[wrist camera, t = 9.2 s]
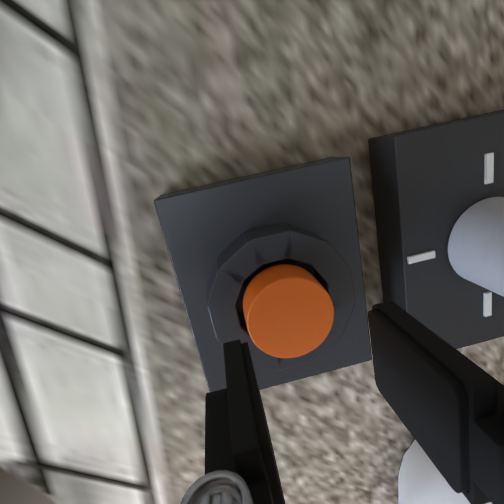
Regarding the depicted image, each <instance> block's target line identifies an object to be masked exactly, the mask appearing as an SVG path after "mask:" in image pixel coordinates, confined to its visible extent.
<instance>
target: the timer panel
mask: <svg viewBox="0 0 504 504" xmlns="http://www.w3.org/2000/svg"><path fill="white" fill-rule="evenodd" d="M369 148H370V159H371V170H372V181H373V191H374V202H375V213H376V223H377V234H378V245H379V255H380V266H381V277H382V287H383V298H384V302H387V301H393V302H394V303H396V304H397V305H398V306H400V307H401V308H402V309H404V310H405V311H406V312H407V313H409V314H410V315H411V316H413V317H414V318H415V319H417V320H418V321H419V322H421V323H422V324H423V325H425V326H426V327H427V328H428V329H430V330H431V331H432V332H434V333H435V334H436V335H438V336H439V337H440V338H442V339H443V340H444V341H446V342H447V343H448V344H450V345H451V346H452V347H454V348H455V349H458V348H462V347H465V346H469V345H473V344H476V343H480V342H484V341H488V340H491V339H495V338H499V337H502V336H504V297H503V296H501V295H499V294H497V293H494V292H492V291H490V290H488V289H486V288H484V287H481V286H479V285H477V284H475V283H473V282H471V281H468V280H466V279H464V278H462V277H461V276H459V275H458V274H457V273H456V272H455V270H454V269H453V267H452V266H451V263H450V261H449V257H448V242H449V237H450V234H451V231H452V229H453V227H454V225H455V223H456V222H457V220H458V219H459V217H460V216H461V215H462V214H463V213H464V212H465V211H466V210H467V209H468V208H469V207H471V206H472V205H474V204H475V203H477V202H479V201H481V200H484V199H487V198H491V197H504V110H499V111H494V112H490V113H485V114H481V115H476V116H471V117H467V118H462V119H458V120H453V121H448V122H444V123H439V124H435V125H430V126H426V127H421V128H416V129H412V130H407V131H403V132H398V133H393V134H389V135H384V136H380V137H375V138H371V139H369Z"/></svg>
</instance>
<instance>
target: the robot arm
mask: <svg viewBox="0 0 504 504" xmlns="http://www.w3.org/2000/svg"><path fill="white" fill-rule="evenodd" d="M368 319H369V328H370V337H371V346H372V355H373V364H374V373H375V381H376V385H377V387H378V389H379V391H380V393H381V394H382V395H383V397H384V398H385V399H386V401H387V402H388V403H389V405H390V406H391V407H392V409H393V410H394V411H395V413H396V414H397V415H398V417H399V418H400V420H401V421H402V422H403V424H404V425H405V426H406V428H407V429H408V430H409V432H410V433H411V434H412V436H413V437H414V438H415V440H416V441H417V442H418V444H419V445H420V446H421V448H422V449H423V450H424V452H425V453H426V454H427V456H428V457H429V458H430V460H431V461H432V463H433V464H434V465H435V467H436V468H437V469H438V471H439V472H440V473H441V475H442V476H443V477H444V479H445V480H446V481H447V483H448V484H449V485H450V487H451V488H452V489H453V490H454V491H455V492H456V493H463V494H464V496H465V497H466V498H467V500H468V501H469V502H470V504H486V503H489V502H492V504H504V385H502V384H501V383H500V382H498V381H497V380H496V379H494V378H493V377H492V376H490V375H489V374H488V373H486V372H485V371H484V370H483V369H481V368H480V367H479V366H477V365H476V364H475V363H473V362H472V361H471V360H469V359H468V358H467V357H465V356H464V355H463V354H461V353H460V352H459V351H458V350H456V349H455V348H454V347H452V346H451V345H450V344H448V343H447V342H446V341H444V340H443V339H442V338H440V337H439V336H438V335H436V334H435V333H434V332H432V331H431V330H430V329H428V328H427V327H426V326H425V325H423V324H422V323H421V322H419V321H418V320H417V319H415V318H414V317H413V316H411V315H410V314H409V313H407V312H406V311H405V310H404V309H402V308H401V307H400V306H398V305H397V304H396V303H394V302H393V301H387V302H383V303H380V304H376V305H373V307H372V310H371V311H369V312H368ZM223 350H224V362H225V374H226V386H227V388H225V389H221V390H217V391H213V392H210V393H207V394H206V412H205V475H204V476H202V477H201V478H199V479H198V480H196V481H195V482H194V483H193V484H192V485H191V486H190V487H189V489H188V490H187V492H186V494H185V495H184V497H183V498H182V501H181V504H285V500H284V496H283V491H282V487H281V482H280V478H279V474H278V469H277V465H276V460H275V456H274V451H273V447H272V443H271V438H270V434H269V429H268V425H267V420H266V416H265V412H264V408H263V403H262V399H261V395H260V391H259V387H258V383H257V378H256V374H255V370H254V366H253V362H252V358H251V353H250V349H249V345H248V342H246V343H242V344H241V341H240V339H238V340H234V341H230V342H226V343H223Z"/></svg>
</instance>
